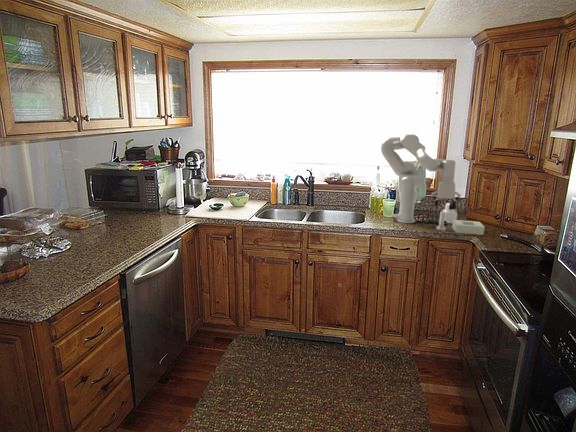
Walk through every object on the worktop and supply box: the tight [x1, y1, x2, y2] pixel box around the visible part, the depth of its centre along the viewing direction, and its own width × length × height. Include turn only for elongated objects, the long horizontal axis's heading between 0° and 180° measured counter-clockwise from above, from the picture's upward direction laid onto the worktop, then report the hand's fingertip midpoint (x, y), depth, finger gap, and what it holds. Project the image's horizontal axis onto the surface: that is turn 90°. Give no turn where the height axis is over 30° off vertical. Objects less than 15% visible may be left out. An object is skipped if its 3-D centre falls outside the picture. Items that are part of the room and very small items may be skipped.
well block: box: [451, 219, 486, 236], centre depth 252 cm, size 16×13×5 cm
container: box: [442, 202, 458, 224], centre depth 272 cm, size 8×8×13 cm
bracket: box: [436, 210, 447, 231], centre depth 255 cm, size 5×6×11 cm
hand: (444, 206), depth 252 cm, fingers open, 9 cm apart
